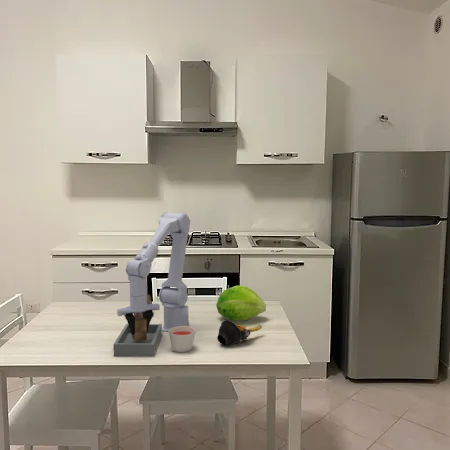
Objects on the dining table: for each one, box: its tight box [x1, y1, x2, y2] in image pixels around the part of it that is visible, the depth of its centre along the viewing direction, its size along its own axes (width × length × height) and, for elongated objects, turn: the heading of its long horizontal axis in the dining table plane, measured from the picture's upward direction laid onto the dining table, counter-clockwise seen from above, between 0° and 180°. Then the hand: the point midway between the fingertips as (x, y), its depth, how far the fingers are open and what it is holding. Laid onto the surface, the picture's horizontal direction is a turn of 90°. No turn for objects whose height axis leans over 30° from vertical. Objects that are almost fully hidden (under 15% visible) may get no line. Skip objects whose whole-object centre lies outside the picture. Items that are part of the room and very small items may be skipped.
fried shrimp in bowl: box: [216, 319, 263, 346], centre depth 167 cm, size 9×11×18 cm
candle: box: [168, 325, 196, 353], centre depth 160 cm, size 9×9×6 cm
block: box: [132, 317, 147, 342], centre depth 162 cm, size 4×4×7 cm
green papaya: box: [215, 285, 267, 322], centre depth 190 cm, size 15×20×14 cm
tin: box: [133, 294, 153, 318], centre depth 193 cm, size 15×3×8 cm, turn 168°
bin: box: [113, 323, 163, 357], centre depth 163 cm, size 13×20×4 cm, turn 0°
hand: (139, 333), depth 162 cm, fingers closed on block, 4 cm apart
